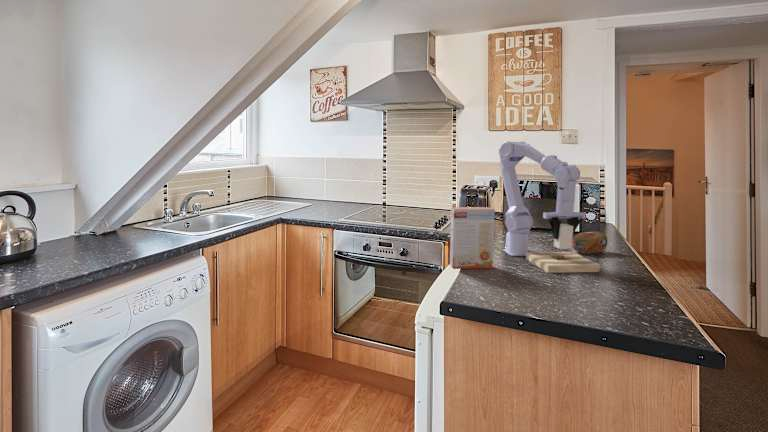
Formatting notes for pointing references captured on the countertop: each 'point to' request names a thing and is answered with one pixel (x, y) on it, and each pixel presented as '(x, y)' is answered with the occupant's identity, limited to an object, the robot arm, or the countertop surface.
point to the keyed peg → (564, 237)
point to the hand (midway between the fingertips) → (562, 238)
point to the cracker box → (472, 237)
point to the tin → (589, 242)
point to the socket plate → (562, 262)
